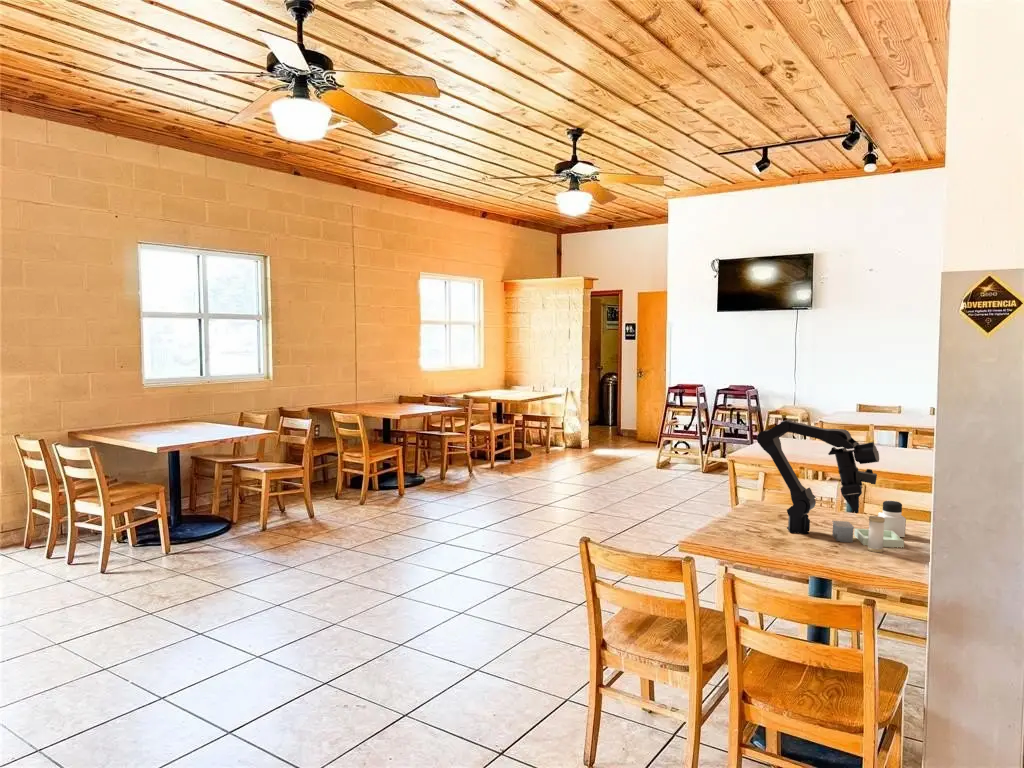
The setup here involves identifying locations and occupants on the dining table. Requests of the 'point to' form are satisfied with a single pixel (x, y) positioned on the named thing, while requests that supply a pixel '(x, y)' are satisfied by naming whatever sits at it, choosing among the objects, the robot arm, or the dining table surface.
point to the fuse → (876, 534)
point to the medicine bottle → (893, 517)
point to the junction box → (843, 531)
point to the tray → (888, 539)
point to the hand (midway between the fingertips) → (857, 510)
